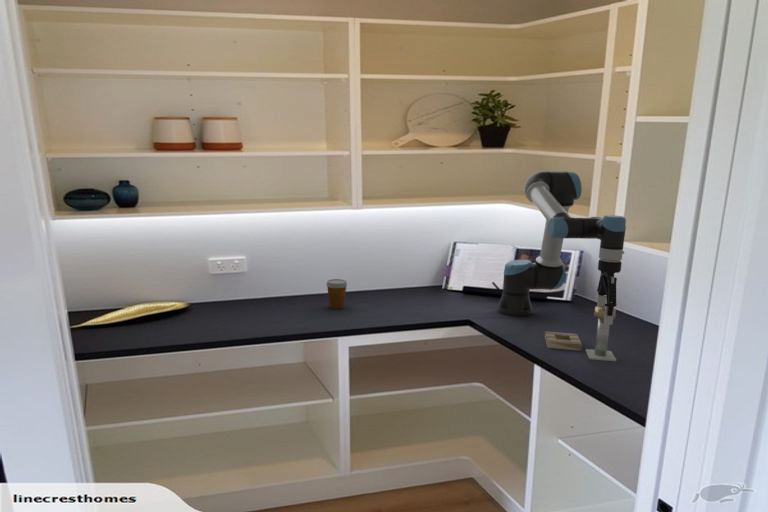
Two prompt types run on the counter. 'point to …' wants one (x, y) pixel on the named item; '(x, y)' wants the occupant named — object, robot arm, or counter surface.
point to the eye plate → (563, 341)
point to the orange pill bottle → (336, 292)
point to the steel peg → (601, 331)
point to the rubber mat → (593, 356)
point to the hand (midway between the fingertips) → (604, 318)
